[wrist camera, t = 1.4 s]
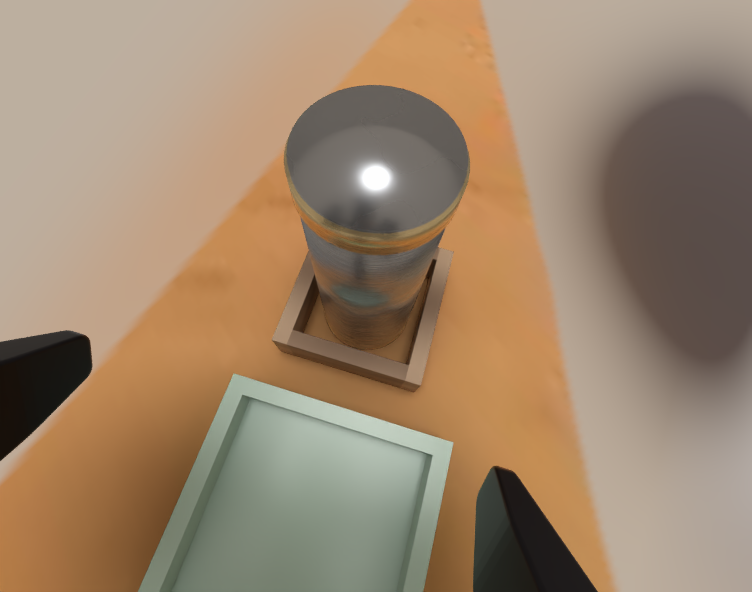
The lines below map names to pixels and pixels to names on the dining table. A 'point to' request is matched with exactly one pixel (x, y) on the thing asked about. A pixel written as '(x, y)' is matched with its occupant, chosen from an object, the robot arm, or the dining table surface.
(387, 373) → the holder
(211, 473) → the tray
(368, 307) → the grey cylindrical piece
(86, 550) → the dining table surface
